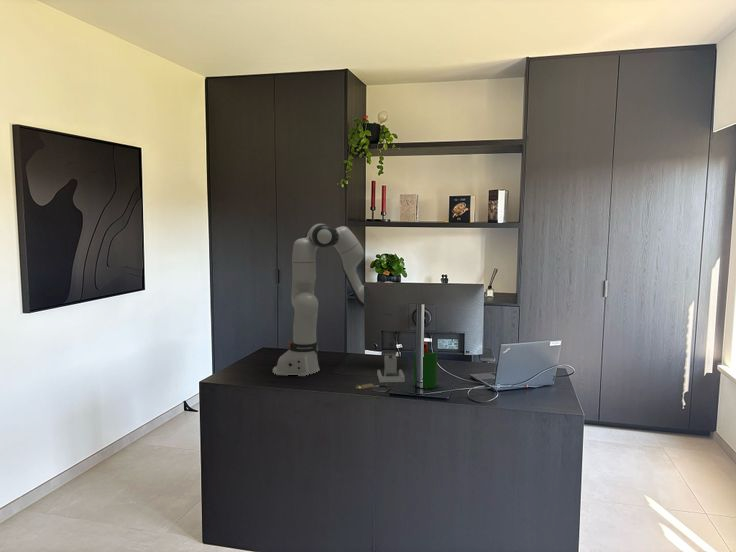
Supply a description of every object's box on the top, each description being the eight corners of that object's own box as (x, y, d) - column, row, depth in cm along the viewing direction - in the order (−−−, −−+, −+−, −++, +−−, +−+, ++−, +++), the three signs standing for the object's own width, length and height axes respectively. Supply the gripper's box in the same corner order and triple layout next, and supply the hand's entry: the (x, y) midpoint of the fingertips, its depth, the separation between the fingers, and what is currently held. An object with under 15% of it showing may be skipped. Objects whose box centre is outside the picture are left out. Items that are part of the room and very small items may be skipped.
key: (358, 389, 228) (358, 388, 228) (354, 387, 231) (354, 385, 231) (374, 387, 232) (374, 385, 232) (370, 385, 235) (370, 383, 235)
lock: (385, 380, 242) (385, 356, 241) (384, 376, 248) (384, 353, 247) (396, 380, 242) (396, 356, 241) (394, 376, 248) (395, 352, 247)
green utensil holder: (436, 383, 238) (437, 339, 236) (437, 389, 229) (438, 344, 227) (413, 382, 239) (414, 339, 237) (413, 388, 230) (414, 343, 228)
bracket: (379, 382, 238) (379, 377, 238) (377, 375, 250) (377, 369, 249) (404, 382, 239) (404, 376, 239) (401, 374, 250) (401, 369, 250)
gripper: (367, 308, 259) (365, 334, 253) (409, 312, 259) (407, 338, 253) (366, 313, 265) (364, 339, 258) (407, 317, 265) (406, 343, 258)
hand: (386, 339), depth 255 cm, fingers open, 8 cm apart
